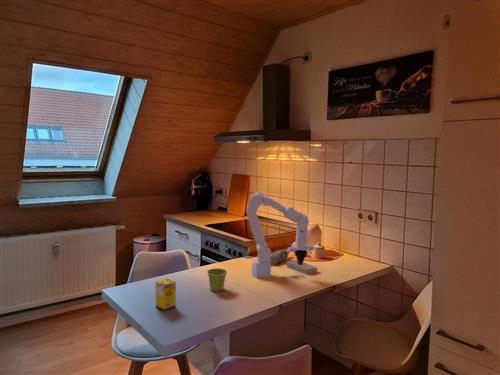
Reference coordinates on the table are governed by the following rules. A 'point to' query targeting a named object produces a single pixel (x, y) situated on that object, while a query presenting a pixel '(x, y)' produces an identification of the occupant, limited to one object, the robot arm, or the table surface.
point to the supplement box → (165, 294)
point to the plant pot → (216, 279)
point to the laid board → (293, 277)
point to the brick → (302, 267)
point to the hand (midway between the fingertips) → (300, 264)
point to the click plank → (296, 279)
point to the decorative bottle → (278, 257)
